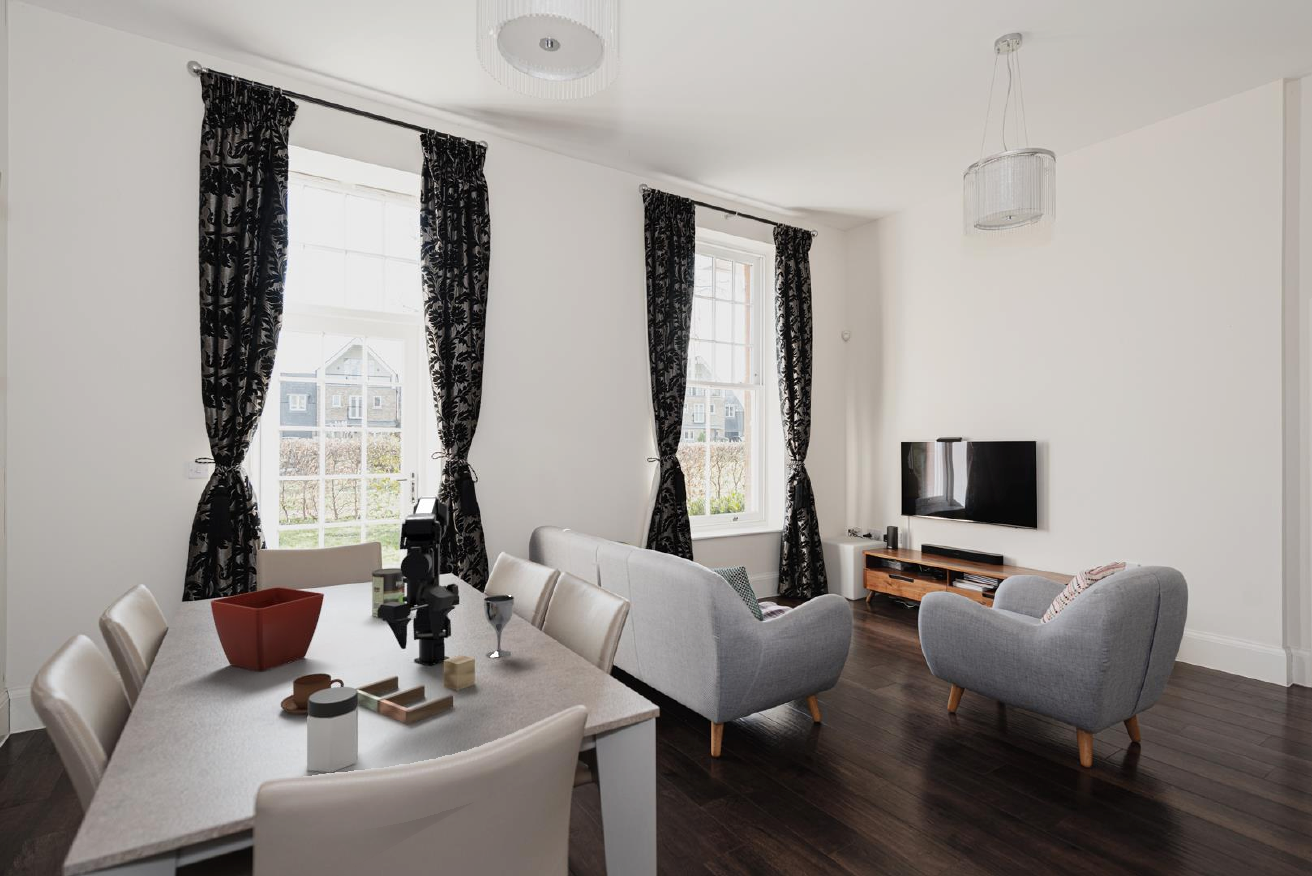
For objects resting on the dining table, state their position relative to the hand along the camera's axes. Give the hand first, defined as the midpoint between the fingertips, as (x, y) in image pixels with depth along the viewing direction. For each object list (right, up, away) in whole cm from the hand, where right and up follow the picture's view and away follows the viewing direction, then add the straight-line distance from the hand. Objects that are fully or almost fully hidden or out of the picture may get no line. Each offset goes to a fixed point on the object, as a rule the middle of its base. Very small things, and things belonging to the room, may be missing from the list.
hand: (420, 643), depth 152 cm
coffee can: (-36, -13, +75) cm, 84 cm away
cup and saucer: (-22, -13, -4) cm, 26 cm away
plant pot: (-48, -13, +26) cm, 56 cm away
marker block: (+6, -13, +9) cm, 17 cm away
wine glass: (+10, -13, +32) cm, 36 cm away
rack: (-3, -12, -3) cm, 13 cm away
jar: (-5, -13, -29) cm, 32 cm away
